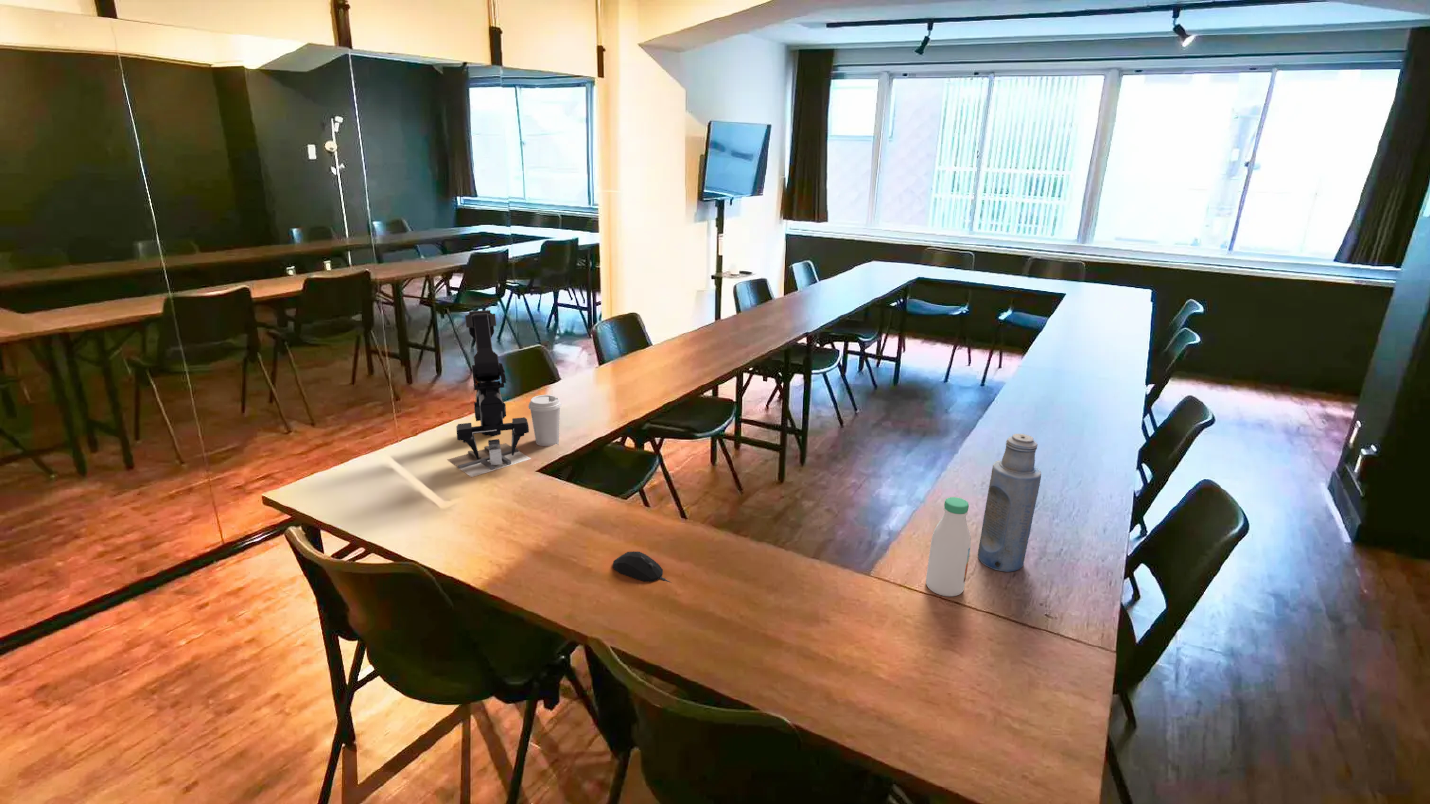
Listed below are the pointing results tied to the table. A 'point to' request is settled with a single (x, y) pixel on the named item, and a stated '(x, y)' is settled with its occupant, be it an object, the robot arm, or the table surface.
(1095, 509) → the table surface
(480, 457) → the ribbed grey tray
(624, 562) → the gaming mouse
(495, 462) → the white rectangular block
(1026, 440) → the bottle
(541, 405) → the coffee cup
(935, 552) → the milk bottle
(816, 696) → the table surface
